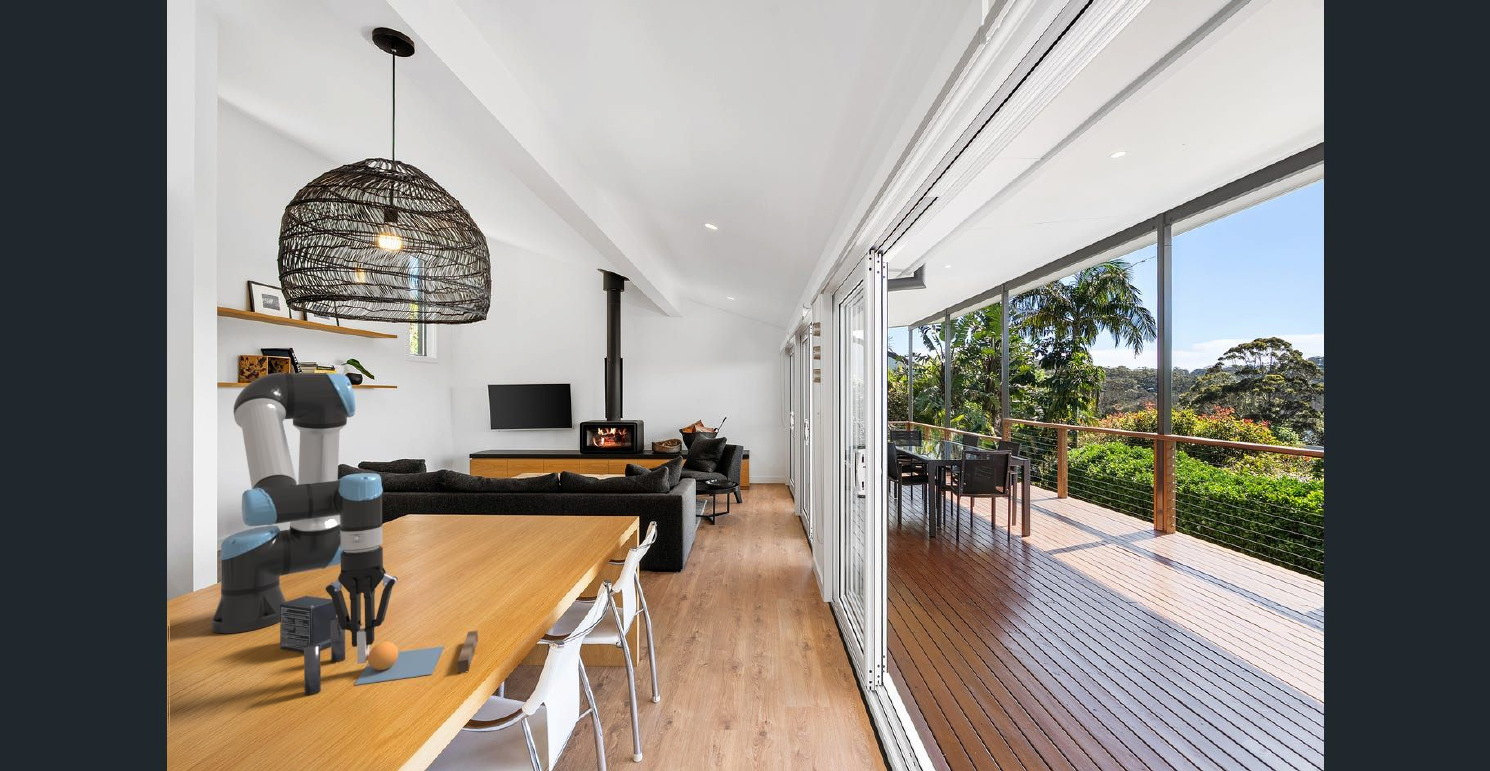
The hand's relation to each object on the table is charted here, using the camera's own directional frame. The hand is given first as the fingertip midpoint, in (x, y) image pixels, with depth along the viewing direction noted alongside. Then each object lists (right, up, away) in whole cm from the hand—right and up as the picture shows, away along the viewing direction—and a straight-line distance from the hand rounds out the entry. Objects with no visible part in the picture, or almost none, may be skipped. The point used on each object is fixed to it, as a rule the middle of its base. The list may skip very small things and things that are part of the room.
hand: (363, 660), depth 127 cm
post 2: (-9, -2, +5) cm, 10 cm away
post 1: (-4, -2, -9) cm, 10 cm away
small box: (-21, -3, +13) cm, 24 cm away
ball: (+4, +1, +1) cm, 4 cm away
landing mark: (+7, -2, +2) cm, 7 cm away
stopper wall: (+19, -2, +6) cm, 20 cm away
